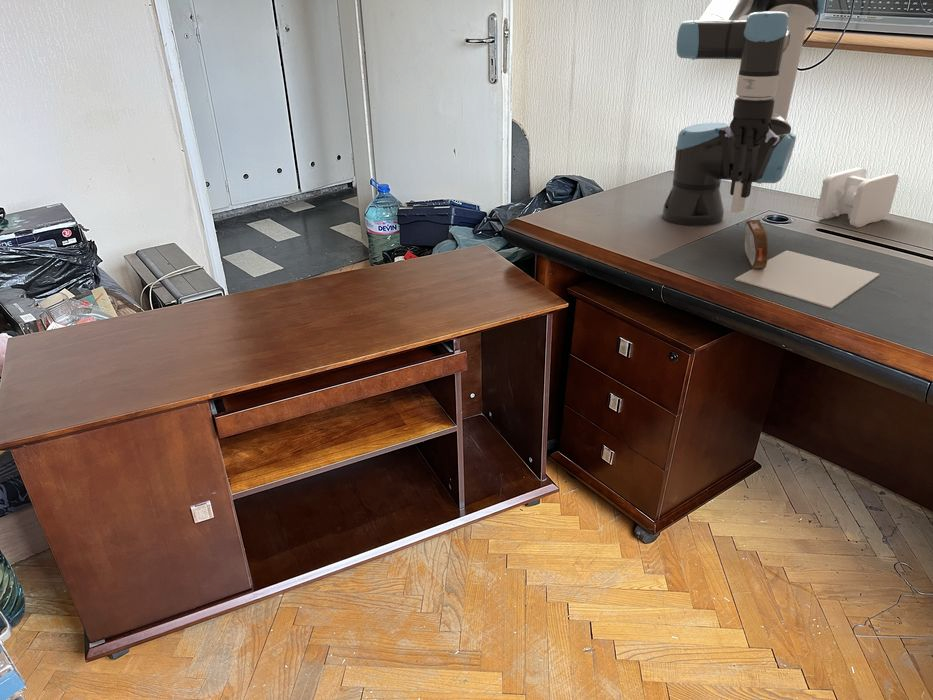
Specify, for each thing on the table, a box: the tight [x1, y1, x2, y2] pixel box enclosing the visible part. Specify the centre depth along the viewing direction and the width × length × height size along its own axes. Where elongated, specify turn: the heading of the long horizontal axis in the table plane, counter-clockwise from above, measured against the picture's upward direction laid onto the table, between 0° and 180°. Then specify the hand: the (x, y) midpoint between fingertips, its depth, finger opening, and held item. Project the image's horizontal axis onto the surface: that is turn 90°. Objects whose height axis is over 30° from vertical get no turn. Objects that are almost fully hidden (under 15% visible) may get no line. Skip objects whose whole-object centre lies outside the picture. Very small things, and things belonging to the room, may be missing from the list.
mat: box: [734, 249, 880, 309], centre depth 143 cm, size 20×22×1 cm
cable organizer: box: [816, 167, 900, 229], centre depth 170 cm, size 15×11×12 cm
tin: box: [743, 218, 769, 269], centre depth 149 cm, size 15×3×8 cm, turn 168°
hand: (737, 210), depth 149 cm, fingers closed
